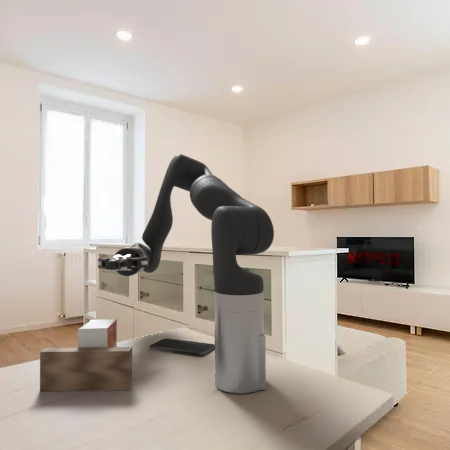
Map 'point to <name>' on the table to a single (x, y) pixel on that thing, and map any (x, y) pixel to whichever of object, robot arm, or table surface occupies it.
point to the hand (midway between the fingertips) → (112, 265)
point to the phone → (182, 347)
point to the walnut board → (86, 369)
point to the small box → (98, 333)
